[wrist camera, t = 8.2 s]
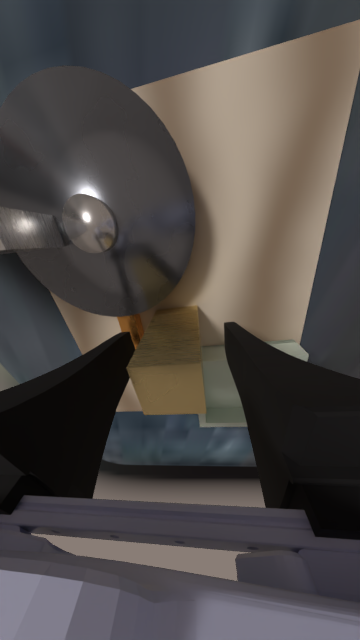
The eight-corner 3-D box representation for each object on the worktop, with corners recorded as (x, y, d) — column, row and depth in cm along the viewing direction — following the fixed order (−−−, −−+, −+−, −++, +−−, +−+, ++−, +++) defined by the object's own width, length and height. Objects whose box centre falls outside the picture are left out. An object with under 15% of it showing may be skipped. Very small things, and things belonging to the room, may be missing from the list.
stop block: (197, 305, 11) (200, 363, 6) (201, 340, 13) (206, 413, 7) (156, 309, 12) (126, 368, 6) (164, 343, 13) (144, 414, 8)
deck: (351, 40, 7) (373, 12, 6) (281, 399, 16) (286, 408, 15) (-12, 146, 9) (-33, 137, 8) (115, 405, 19) (111, 412, 18)
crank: (-55, 130, 8) (-308, 19, 4) (187, 73, 7) (178, -186, 3) (60, 345, 14) (4, 390, 10) (201, 339, 12) (205, 387, 8)
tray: (293, 339, 12) (308, 354, 10) (280, 406, 15) (290, 426, 14) (190, 347, 13) (190, 362, 11) (199, 408, 16) (200, 426, 15)
